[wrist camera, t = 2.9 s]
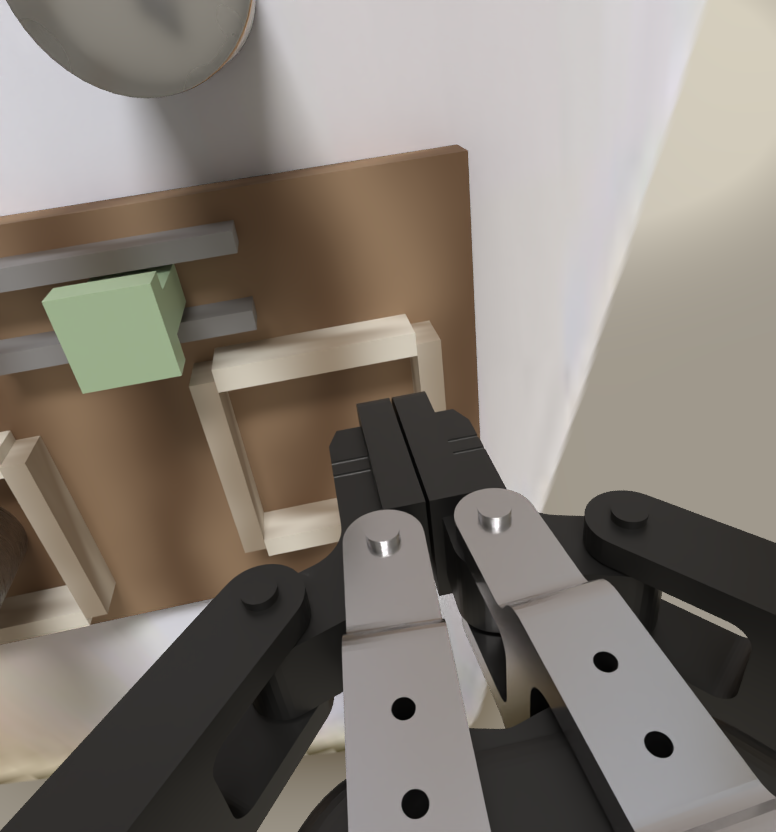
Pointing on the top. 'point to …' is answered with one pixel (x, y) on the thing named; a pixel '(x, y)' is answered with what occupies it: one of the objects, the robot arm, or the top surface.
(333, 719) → the top surface
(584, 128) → the top surface
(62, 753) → the top surface
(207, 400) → the pallet
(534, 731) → the robot arm
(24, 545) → the seated billet
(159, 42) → the cylinder
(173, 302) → the green notched block
